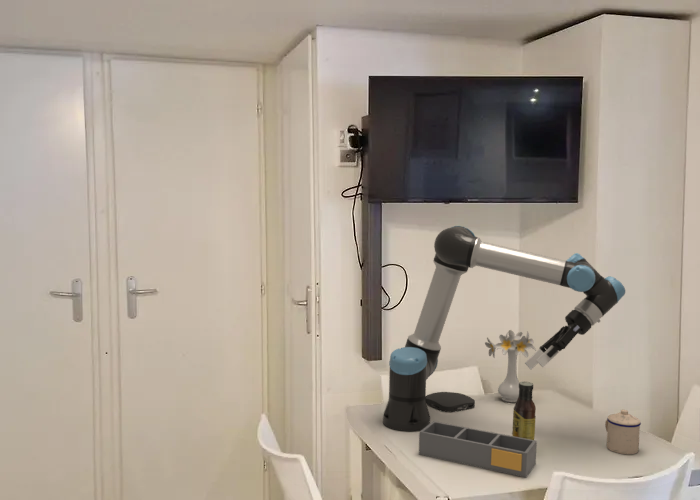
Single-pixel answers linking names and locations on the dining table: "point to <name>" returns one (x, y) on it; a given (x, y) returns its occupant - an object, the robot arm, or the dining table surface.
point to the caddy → (478, 448)
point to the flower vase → (511, 361)
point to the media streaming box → (450, 401)
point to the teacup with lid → (623, 433)
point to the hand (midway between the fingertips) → (533, 365)
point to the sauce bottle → (524, 413)
